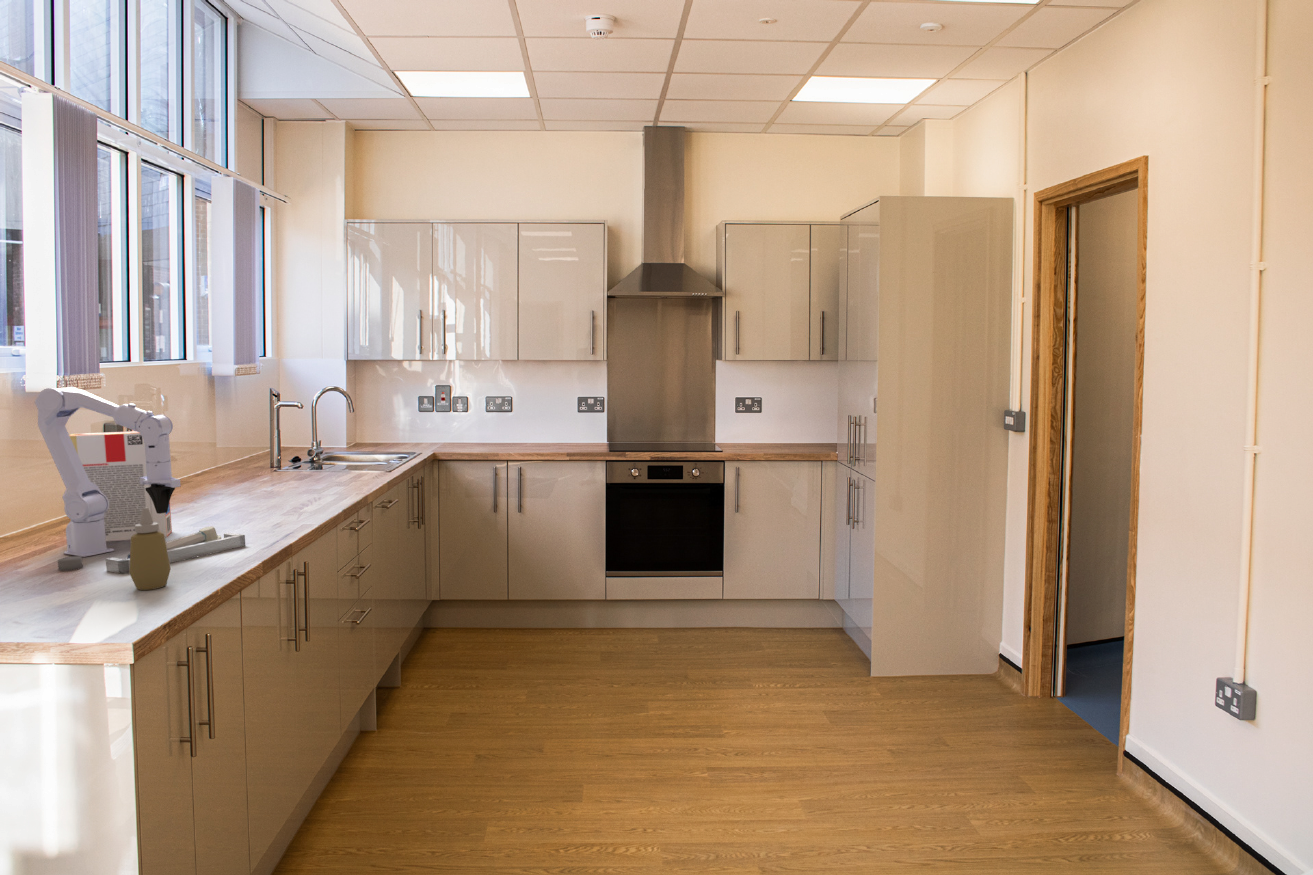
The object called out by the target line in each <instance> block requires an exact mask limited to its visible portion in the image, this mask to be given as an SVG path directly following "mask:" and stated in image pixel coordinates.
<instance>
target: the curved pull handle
mask: <svg viewBox="0 0 1313 875" xmlns="http://www.w3.org/2000/svg"><path fill="white" fill-rule="evenodd" d="M241 546H243V547H246V535H245V534H241V533H233V532H226V533H224V534H223V537H221V539H217V540H213V541H208V542H203V543H199V544H194V545H189V546H185V547H180V548H175V549H171V550H167V553H168V558H169V563H170V564H171V563H176V562H175V561H177V562H180V561H181V562H182V561H185V560H184V559H186V560H189V559H193V558H198V557H197V556H199V557H202V556H206V555H207V554H208V555H212V554H216V553H219V552H225V551H229V549H230V550H233V549H232V548H234V549H238V548H242V547H241ZM224 550H225V551H224ZM215 552H216V553H215ZM105 568H106V572H111V573H117V574H120V575H121V574H122V575H123V574H128V573H129V574H130V558H129V559H126V558H120V557H119V558H118V557H107V558H105Z"/></svg>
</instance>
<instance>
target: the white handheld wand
mask: <svg viewBox="0 0 1313 875" xmlns="http://www.w3.org/2000/svg"><path fill="white" fill-rule="evenodd" d="M217 539H222V536H221V535H218V534H217V530H216V528H215V527H214V526H213V525H212V526H205V527H202V528H200V529H199V530H198V532H193V533H192V534H188V535H185V536H182V537H179V538H178V537H177V538H176V539H172V540H168V541H165V542H166V547H167V550H171V549H175V548H180V547H185V546H189V545H194V544H199V543H203V542H208V541H213V540H217ZM129 558H130V553H129V554H128V555H127V557H126V558H125V559H129Z"/></svg>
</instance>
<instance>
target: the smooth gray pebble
mask: <svg viewBox="0 0 1313 875" xmlns="http://www.w3.org/2000/svg"><path fill="white" fill-rule="evenodd" d="M57 567H58V568H57V570H58V571H59V572H68V571H69V572H70V571H71V572H72V571H77V570H80V569H83V568H82V567H84V566H83V557H81V556H75V555H72V556H67V557H66V556H65V557H61V558H59V559H58V560H57ZM76 569H77V570H76Z"/></svg>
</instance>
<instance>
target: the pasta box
mask: <svg viewBox="0 0 1313 875" xmlns="http://www.w3.org/2000/svg"><path fill="white" fill-rule="evenodd" d="M69 436H70V438H71V441H72V443H73V445H74V447H75V449H76V452H77V454H78V456H79V458H80V461H81V463H82V465H83V467H84V470H85V472H86V474H87V476H88V478H89V481H91V482H92V483H94V484H95V485H97V486H98V487H99V489H100V491H101V492H102V493H103V494H104V495H105V496H106V497H107V498H108V501H109V507H108V510H107V511H106V512H105V517H104V523H105V536H106V542H116V541H129V540H130V541H131V537H132V536H133V535H134V534H137V533H136V532H135V525H136V524H140V520H141V514H142V508H149V511H150V514H151V517H152V520H153V522H156V523H158V524H159V530H158V531H159V532H162V533H163V534H164V537H165V538H168V537H169V536H170V534H171V533H172V532H173V528H172V515H171V513H172V512H171V501H170V502H169V506H168V511H167V513H161V514H158V513H157V512H156V509H155V507H154V504H153V501H152V499H151V497H150V495H149V494H148V493H147V491H146V489H145V488H148V487H150V486H151V485H148V484H143V485H142V484H140V477H145V476H147V470H146V456H145V443H144V439H143V437H142V436H141V435H140V433H139V432H137V431H134V430H132V431H130V430H129V431H111V432H110V431H109V432H88V433H87V432H84V433H83V432H82V433H71V434H69Z"/></svg>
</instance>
